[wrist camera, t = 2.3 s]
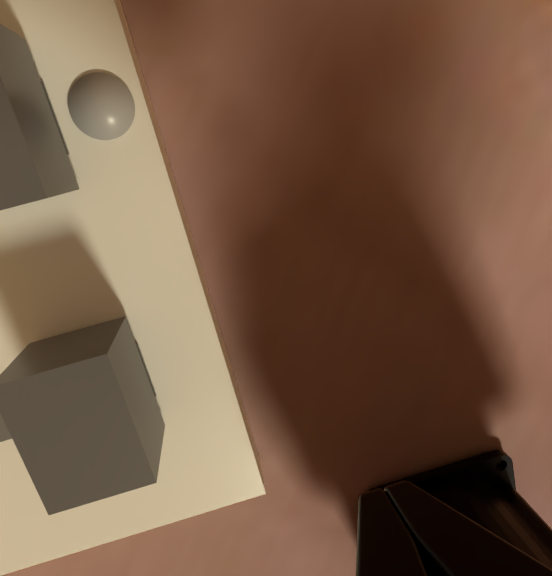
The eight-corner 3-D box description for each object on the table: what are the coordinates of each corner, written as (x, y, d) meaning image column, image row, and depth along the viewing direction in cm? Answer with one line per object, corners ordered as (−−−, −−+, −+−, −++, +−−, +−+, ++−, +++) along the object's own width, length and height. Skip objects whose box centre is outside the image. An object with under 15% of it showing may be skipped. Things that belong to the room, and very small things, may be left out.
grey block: (125, 316, 15) (107, 353, 12) (165, 425, 16) (156, 482, 13) (29, 343, 15) (-13, 387, 12) (76, 451, 16) (48, 515, 13)
